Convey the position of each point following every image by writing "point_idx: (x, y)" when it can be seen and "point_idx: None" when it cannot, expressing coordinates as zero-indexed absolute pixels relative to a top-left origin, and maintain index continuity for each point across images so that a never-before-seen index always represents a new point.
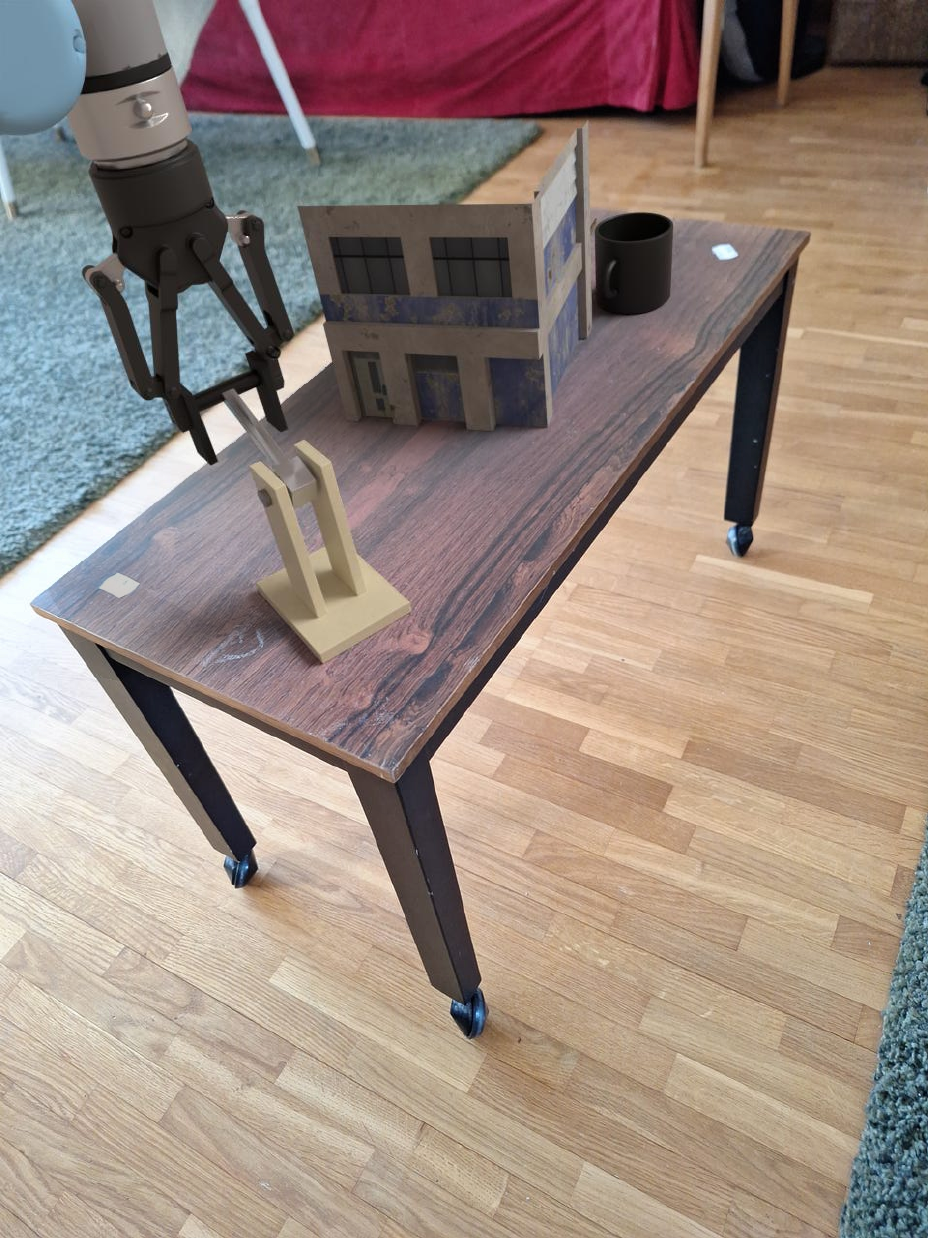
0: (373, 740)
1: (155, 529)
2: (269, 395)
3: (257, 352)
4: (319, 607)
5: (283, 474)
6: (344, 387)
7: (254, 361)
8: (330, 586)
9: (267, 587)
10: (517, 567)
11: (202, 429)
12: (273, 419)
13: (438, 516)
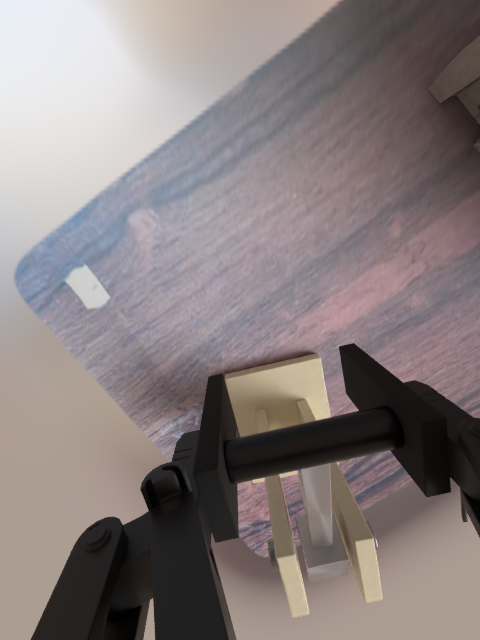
0: (261, 544)
1: (132, 203)
2: None
3: (451, 453)
4: None
5: (314, 572)
6: (478, 64)
7: (422, 471)
8: (287, 417)
9: (233, 391)
10: None
11: None
12: (351, 388)
13: (415, 356)
